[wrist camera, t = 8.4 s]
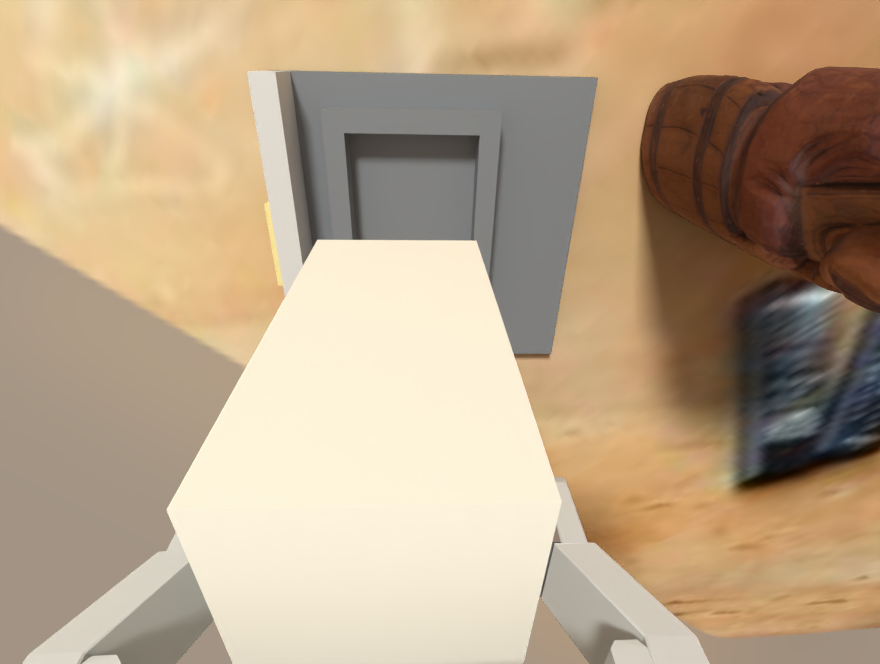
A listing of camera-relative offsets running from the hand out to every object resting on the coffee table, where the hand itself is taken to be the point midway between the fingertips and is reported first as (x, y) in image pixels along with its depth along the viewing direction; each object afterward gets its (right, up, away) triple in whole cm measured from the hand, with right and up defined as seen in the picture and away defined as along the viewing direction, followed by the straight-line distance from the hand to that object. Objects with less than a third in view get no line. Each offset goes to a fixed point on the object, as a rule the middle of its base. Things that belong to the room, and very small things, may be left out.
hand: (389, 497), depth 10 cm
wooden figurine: (+17, +13, +15) cm, 26 cm away
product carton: (0, +3, +5) cm, 6 cm away
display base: (+1, +10, +17) cm, 19 cm away
